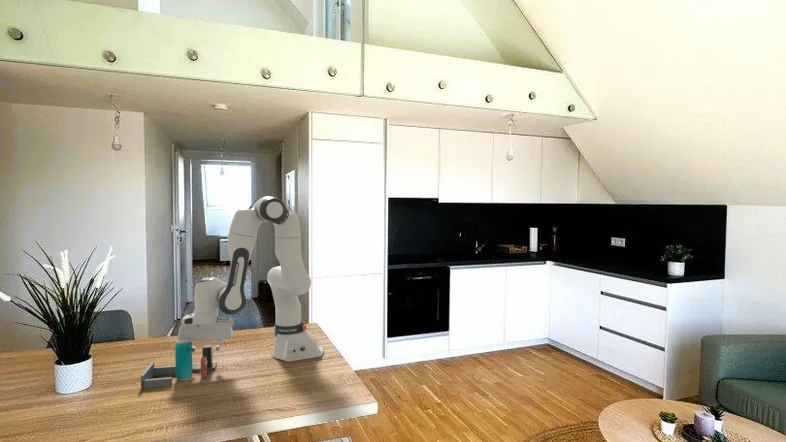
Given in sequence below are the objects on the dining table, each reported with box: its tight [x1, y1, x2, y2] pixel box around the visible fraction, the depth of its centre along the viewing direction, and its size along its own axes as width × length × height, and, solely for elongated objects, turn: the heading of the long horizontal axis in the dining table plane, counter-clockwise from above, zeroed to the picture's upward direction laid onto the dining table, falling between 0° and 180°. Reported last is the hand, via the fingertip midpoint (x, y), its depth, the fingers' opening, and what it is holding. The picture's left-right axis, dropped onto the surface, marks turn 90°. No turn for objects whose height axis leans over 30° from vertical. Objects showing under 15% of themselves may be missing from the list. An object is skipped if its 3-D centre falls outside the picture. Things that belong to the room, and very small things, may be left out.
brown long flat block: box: [192, 361, 218, 373], centre depth 167 cm, size 16×5×1 cm, turn 104°
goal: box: [140, 362, 176, 390], centre depth 156 cm, size 10×12×5 cm
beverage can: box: [174, 338, 193, 382], centre depth 158 cm, size 6×6×15 cm
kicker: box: [200, 344, 214, 378], centre depth 164 cm, size 3×11×9 cm, turn 14°
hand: (205, 350), depth 167 cm, fingers open, 8 cm apart
